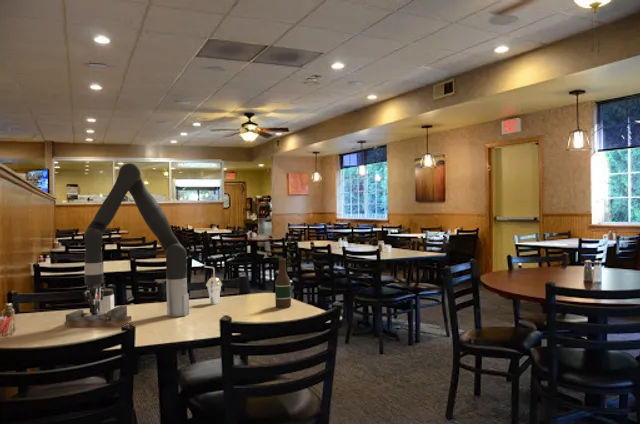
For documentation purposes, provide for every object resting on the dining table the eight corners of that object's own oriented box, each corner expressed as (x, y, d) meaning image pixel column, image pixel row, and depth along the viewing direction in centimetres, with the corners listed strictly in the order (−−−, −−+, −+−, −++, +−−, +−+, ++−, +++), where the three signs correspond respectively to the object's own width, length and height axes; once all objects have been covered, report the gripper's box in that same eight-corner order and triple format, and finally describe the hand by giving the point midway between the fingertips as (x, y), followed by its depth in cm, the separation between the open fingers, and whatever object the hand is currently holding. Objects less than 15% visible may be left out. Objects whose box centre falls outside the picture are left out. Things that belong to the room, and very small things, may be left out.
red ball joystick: (107, 316, 217) (107, 292, 217) (99, 320, 210) (98, 294, 210) (92, 316, 217) (92, 292, 217) (84, 320, 211) (83, 294, 211)
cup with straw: (220, 305, 249) (220, 266, 249) (203, 305, 250) (202, 266, 249) (224, 301, 258) (223, 264, 258) (207, 302, 258) (206, 264, 258)
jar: (95, 317, 225) (94, 292, 225) (92, 314, 232) (92, 289, 232) (116, 315, 230) (115, 289, 230) (112, 312, 237) (112, 287, 237)
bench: (131, 320, 218) (131, 304, 218) (117, 327, 206) (117, 310, 206) (80, 320, 221) (80, 305, 221) (64, 326, 209) (64, 310, 209)
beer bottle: (294, 305, 243) (293, 258, 243) (285, 308, 237) (283, 259, 237) (281, 304, 248) (280, 257, 247) (272, 307, 241) (271, 259, 241)
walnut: (118, 318, 215) (118, 309, 215) (113, 320, 211) (113, 310, 211) (109, 318, 215) (109, 309, 215) (104, 320, 211) (104, 310, 211)
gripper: (93, 275, 206) (94, 315, 206) (110, 270, 220) (111, 308, 220) (76, 275, 207) (77, 315, 207) (94, 270, 221) (95, 308, 221)
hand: (94, 311), depth 214 cm, fingers closed on red ball joystick, 3 cm apart
